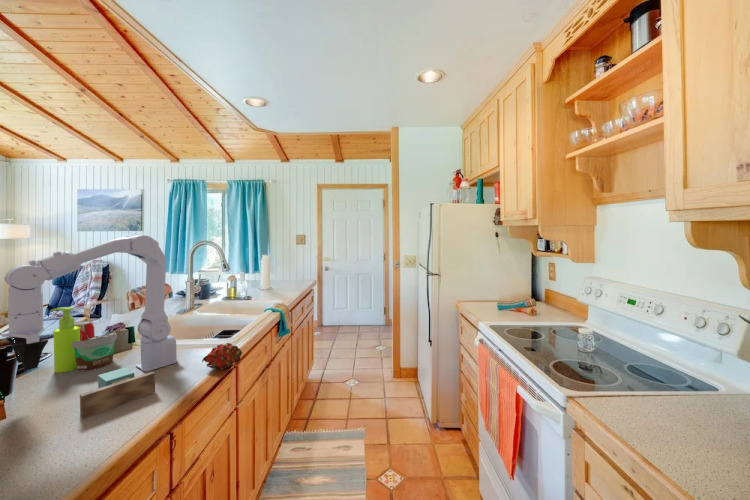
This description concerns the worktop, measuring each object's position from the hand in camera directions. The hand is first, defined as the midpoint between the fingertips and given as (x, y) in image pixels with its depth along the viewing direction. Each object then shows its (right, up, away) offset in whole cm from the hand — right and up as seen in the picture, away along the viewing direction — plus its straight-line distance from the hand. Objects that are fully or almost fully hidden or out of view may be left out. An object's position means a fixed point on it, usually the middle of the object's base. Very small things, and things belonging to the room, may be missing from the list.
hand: (27, 365), depth 76 cm
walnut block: (+23, -11, +1) cm, 25 cm away
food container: (-2, -9, +23) cm, 25 cm away
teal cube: (+18, -10, +5) cm, 22 cm away
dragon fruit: (+38, -10, +24) cm, 46 cm away
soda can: (-17, -9, +31) cm, 36 cm away
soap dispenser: (-11, -9, +20) cm, 25 cm away
